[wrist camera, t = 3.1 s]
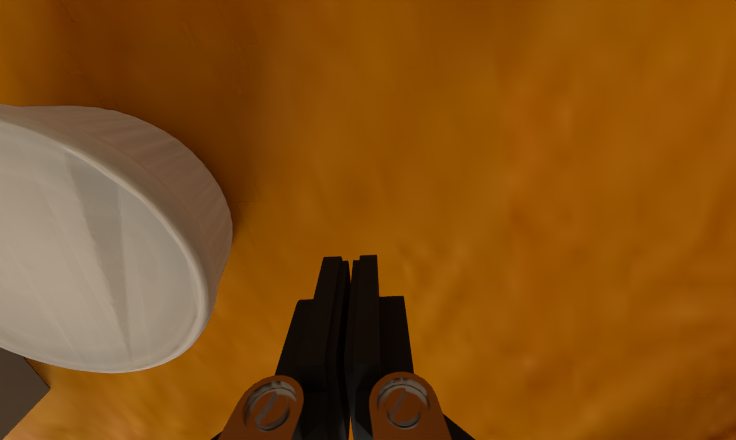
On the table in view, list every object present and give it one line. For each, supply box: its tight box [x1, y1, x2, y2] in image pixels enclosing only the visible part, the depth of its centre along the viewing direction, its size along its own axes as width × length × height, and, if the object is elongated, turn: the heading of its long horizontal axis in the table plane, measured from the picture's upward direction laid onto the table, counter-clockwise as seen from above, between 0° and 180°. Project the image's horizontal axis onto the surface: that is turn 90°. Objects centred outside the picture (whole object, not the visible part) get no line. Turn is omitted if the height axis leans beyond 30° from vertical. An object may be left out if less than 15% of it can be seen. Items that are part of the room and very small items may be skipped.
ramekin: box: [0, 104, 233, 373], centre depth 13 cm, size 11×11×5 cm
